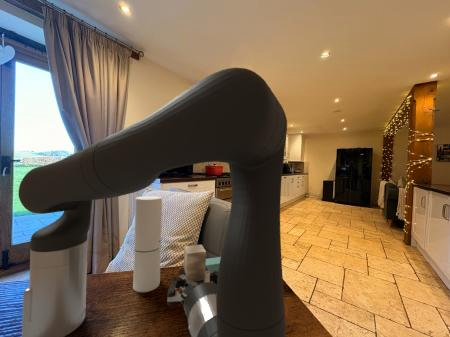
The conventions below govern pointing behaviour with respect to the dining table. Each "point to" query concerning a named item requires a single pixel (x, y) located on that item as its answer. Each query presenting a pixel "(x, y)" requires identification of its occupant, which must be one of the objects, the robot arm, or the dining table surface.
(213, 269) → the stand
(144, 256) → the cylindrical container
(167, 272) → the dining table surface
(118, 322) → the dining table surface
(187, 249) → the ash post
